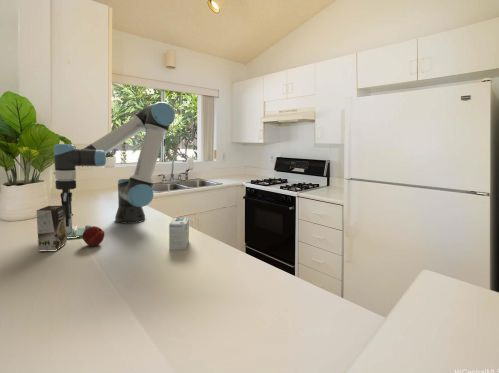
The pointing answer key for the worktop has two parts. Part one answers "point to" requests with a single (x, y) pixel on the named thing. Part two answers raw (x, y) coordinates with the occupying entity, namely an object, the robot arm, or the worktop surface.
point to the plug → (71, 222)
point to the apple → (93, 236)
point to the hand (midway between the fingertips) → (67, 231)
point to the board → (78, 231)
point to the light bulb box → (178, 234)
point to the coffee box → (51, 227)
